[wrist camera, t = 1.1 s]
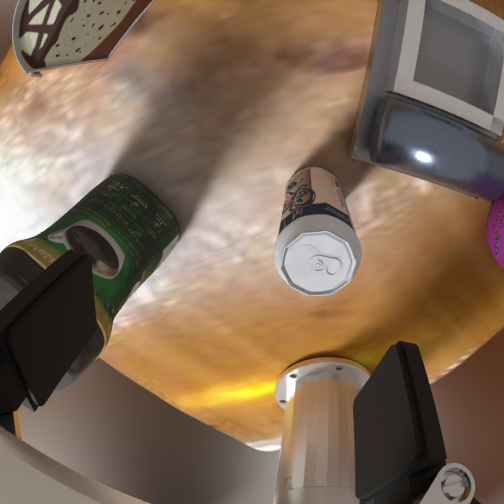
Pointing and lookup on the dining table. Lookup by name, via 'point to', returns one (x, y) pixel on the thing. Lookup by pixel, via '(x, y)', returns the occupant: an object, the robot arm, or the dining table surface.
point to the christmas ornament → (496, 230)
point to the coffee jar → (98, 253)
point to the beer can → (316, 235)
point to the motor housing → (435, 95)
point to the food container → (71, 31)
